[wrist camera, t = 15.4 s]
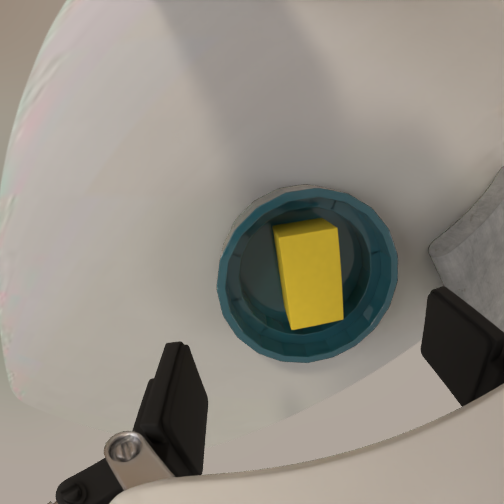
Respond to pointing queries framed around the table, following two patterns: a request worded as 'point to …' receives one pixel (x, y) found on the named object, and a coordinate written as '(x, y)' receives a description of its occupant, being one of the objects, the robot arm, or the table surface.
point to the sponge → (309, 272)
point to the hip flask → (476, 254)
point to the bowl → (268, 278)
